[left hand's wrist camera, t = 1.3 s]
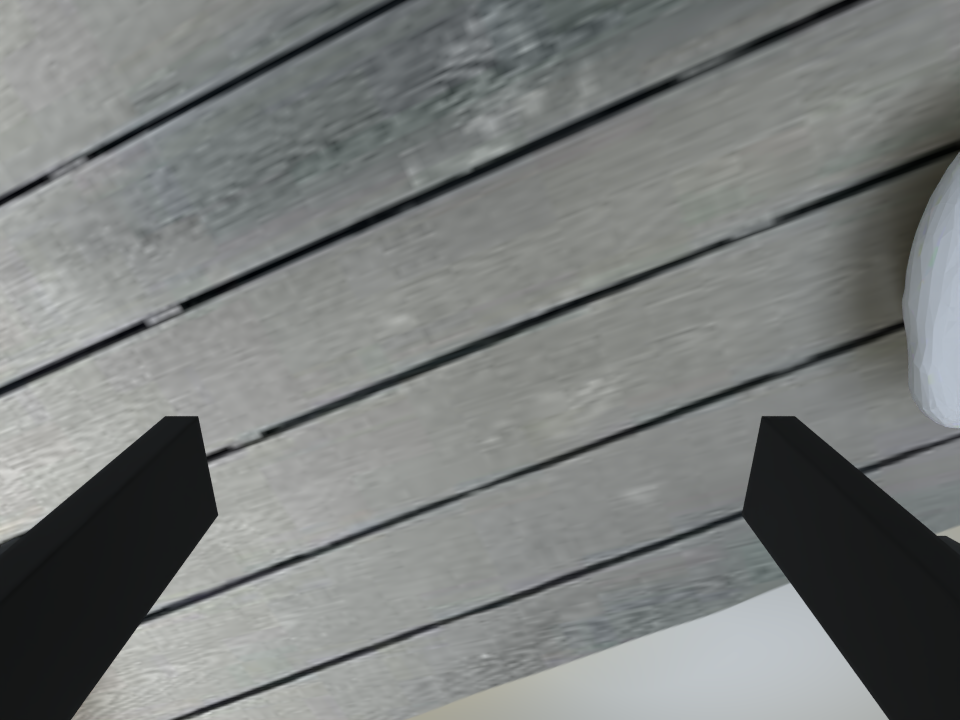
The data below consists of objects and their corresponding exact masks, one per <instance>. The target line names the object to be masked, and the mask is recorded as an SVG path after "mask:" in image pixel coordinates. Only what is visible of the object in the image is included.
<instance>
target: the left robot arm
mask: <svg viewBox="0 0 960 720" xmlns="http://www.w3.org/2000/svg"><path fill="white" fill-rule="evenodd" d="M217 516H218V512H217V507H216V502H215V497H214V492H213V487H212V482H211V477H210V472H209V468H208V463H207V458H206V453H205V448H204V443H203V438H202V433H201V428H200V423H199V418H198V416H165V417H164V418H163V419H161V420H160V421H159V422H158V423H157V424H155V425H154V426H153V427H152V428H151V429H150V430H148V431H147V432H146V433H145V434H144V435H142V436H141V437H140V438H139V439H138V440H136V441H135V442H134V443H133V444H132V445H131V446H129V447H128V448H127V449H126V450H125V451H123V452H122V453H121V454H120V455H119V456H117V457H116V458H115V459H114V460H113V461H111V462H110V463H109V464H108V465H107V466H106V467H104V468H103V469H102V470H101V471H100V472H98V473H97V474H96V475H95V476H94V477H92V478H91V479H90V480H89V481H88V482H86V483H85V484H84V485H83V486H82V487H81V488H79V489H78V490H77V491H76V492H75V493H73V494H72V495H71V496H70V497H69V498H67V499H66V500H65V501H64V502H63V503H62V504H60V505H59V506H58V507H57V508H56V509H54V510H53V511H52V512H51V513H50V514H48V515H47V516H46V517H45V518H44V519H42V520H41V521H40V522H39V523H38V524H37V525H35V526H34V527H33V528H32V529H31V530H29V531H28V532H27V533H26V534H25V535H23V536H22V537H21V538H13V539H12V540H10V541H8V542H6V543H4V544H3V545H1V546H0V720H71V719H72V717H73V716H74V715H75V713H76V712H77V710H78V709H79V708H80V706H81V705H82V703H83V702H84V701H85V699H86V698H87V697H88V695H89V694H90V692H91V691H92V690H93V688H94V687H95V685H96V684H97V683H98V681H99V680H100V678H101V677H102V676H103V674H104V673H105V672H106V670H107V669H108V667H109V666H110V665H111V663H112V662H113V660H114V659H115V658H116V656H117V655H118V654H119V652H120V651H121V649H122V648H123V647H124V645H125V644H126V642H127V641H128V640H129V638H130V637H131V635H132V634H133V633H134V631H135V630H136V629H137V627H138V626H139V624H140V623H141V622H142V620H143V619H144V617H145V616H146V615H147V613H148V612H149V610H150V609H151V608H152V606H153V605H154V604H155V602H156V601H157V599H158V598H159V597H160V595H161V594H162V592H163V591H164V590H165V588H166V587H167V585H168V584H169V583H170V581H171V580H172V579H173V577H174V576H175V574H176V573H177V572H178V570H179V569H180V567H181V566H182V565H183V563H184V562H185V561H186V559H187V558H188V556H189V555H190V554H191V552H192V551H193V549H194V548H195V547H196V545H197V544H198V542H199V541H200V540H201V538H202V537H203V536H204V534H205V533H206V531H207V530H208V529H209V527H210V526H211V524H212V523H213V522H214V520H215V519H216V517H217ZM742 516H743V517H744V519H745V520H746V522H747V523H748V524H749V526H750V527H751V529H752V530H753V531H754V533H755V534H756V536H757V537H758V538H759V540H760V541H761V542H762V544H763V545H764V547H765V548H766V549H767V551H768V552H769V554H770V555H771V556H772V558H773V559H774V561H775V562H776V563H777V565H778V566H779V567H780V569H781V570H782V572H783V573H784V574H785V576H786V577H787V579H788V580H789V581H790V583H791V584H792V585H793V587H794V588H795V590H796V591H797V592H798V594H799V595H800V597H801V598H802V599H803V601H804V602H805V604H806V605H807V606H808V608H809V609H810V610H811V612H812V613H813V615H814V616H815V617H816V619H817V620H818V621H819V623H820V624H821V626H822V627H823V629H824V630H825V631H826V633H827V634H828V635H829V637H830V638H831V640H832V641H833V642H834V644H835V645H836V647H837V648H838V649H839V651H840V652H841V654H842V655H843V656H844V658H845V659H846V660H847V662H848V663H849V665H850V666H851V667H852V669H853V670H854V672H855V673H856V674H857V676H858V677H859V678H860V680H861V681H862V683H863V684H864V685H865V687H866V688H867V690H868V691H869V692H870V694H871V695H872V697H873V698H874V699H875V701H876V702H877V703H878V705H879V706H880V708H881V709H882V710H883V712H884V713H885V715H886V716H887V717H888V719H889V720H960V543H958V542H956V541H954V540H952V539H951V538H949V537H947V536H937V535H935V534H934V533H933V532H932V531H931V530H929V529H928V528H927V527H926V526H925V525H923V524H922V523H921V522H920V521H919V520H918V519H916V518H915V517H914V516H913V515H912V514H910V513H909V512H908V511H907V510H906V509H904V508H903V507H902V506H901V505H900V504H898V503H897V502H896V501H895V500H894V499H893V498H891V497H890V496H889V495H888V494H887V493H885V492H884V491H883V490H882V489H881V488H879V487H878V486H877V485H876V484H875V483H874V482H872V481H871V480H870V479H869V478H868V477H866V476H865V475H864V474H863V473H862V472H860V471H859V470H858V469H857V468H856V467H854V466H853V465H852V464H851V463H850V462H849V461H847V460H846V459H845V458H844V457H843V456H841V455H840V454H839V453H838V452H837V451H835V450H834V449H833V448H832V447H831V446H829V445H828V444H827V443H826V442H825V441H824V440H822V439H821V438H820V437H819V436H818V435H816V434H815V433H814V432H813V431H812V430H810V429H809V428H808V427H807V426H806V425H805V424H803V423H802V422H801V421H800V420H799V419H797V418H796V417H795V416H762V418H761V423H760V428H759V433H758V438H757V443H756V448H755V453H754V458H753V463H752V468H751V472H750V477H749V482H748V487H747V492H746V497H745V502H744V507H743V512H742Z"/></svg>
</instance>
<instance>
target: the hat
mask: <svg viewBox="0 0 960 720" xmlns="http://www.w3.org/2000/svg"><path fill="white" fill-rule="evenodd" d="M902 310H903V319H904V325H905V330H906V336H907V348H908V385H909V389H910V393H911V396H912V399H913V400H914V402H915V404H916V405H917V407H918V408H919V409H920V410H921V411H922V412H923V413H924V415H925V416H927V417H928V418H930V419H931V420H933V421H934V422H936V423H938V424H940V425H943V426H945V427H951V428H960V152H959V153H958V155H957V156H956V157H955V159H954V160H953V161H952V163H951V164H950V165H949V167H948V168H947V170H946V172H945V173H944V175H943V177H942V178H941V180H940V182H939V184H938V185H937V187H936V189H935V190H934V192H933V194H932V195H931V197H930V199H929V202H928V204H927V206H926V209H925V211H924V213H923V215H922V218H921V220H920V223H919V226H918V228H917V231H916V234H915V237H914V240H913V244H912V248H911V252H910V256H909V261H908V266H907V270H906V281H905V290H904V294H903V298H902Z"/></svg>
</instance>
